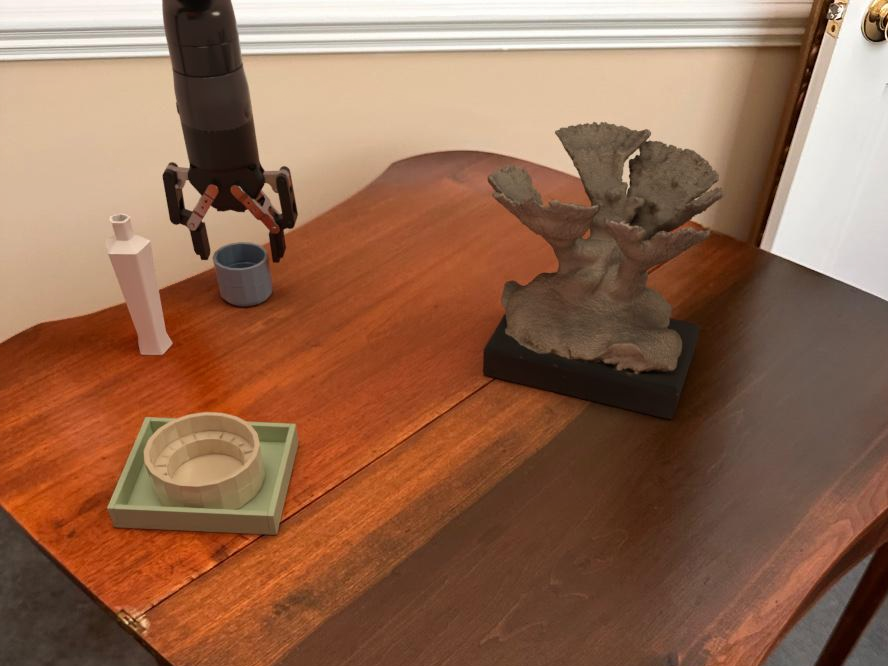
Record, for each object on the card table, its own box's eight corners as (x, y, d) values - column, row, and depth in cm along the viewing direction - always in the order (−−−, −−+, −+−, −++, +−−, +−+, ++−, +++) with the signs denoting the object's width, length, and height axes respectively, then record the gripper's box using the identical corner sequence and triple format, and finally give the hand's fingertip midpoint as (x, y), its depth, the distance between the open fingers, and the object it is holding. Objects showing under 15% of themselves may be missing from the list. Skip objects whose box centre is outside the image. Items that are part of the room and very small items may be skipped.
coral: (452, 368, 98) (458, 174, 82) (511, 280, 110) (527, 97, 94) (670, 424, 92) (723, 229, 76) (707, 326, 105) (760, 139, 88)
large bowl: (142, 518, 82) (130, 483, 78) (170, 445, 88) (160, 409, 85) (254, 524, 82) (247, 488, 78) (274, 450, 88) (268, 414, 85)
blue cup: (215, 307, 105) (207, 268, 101) (226, 279, 109) (219, 241, 105) (268, 309, 105) (262, 270, 101) (277, 281, 109) (271, 243, 105)
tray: (114, 527, 81) (106, 508, 79) (151, 436, 89) (145, 416, 87) (276, 535, 81) (273, 515, 79) (298, 442, 89) (295, 423, 87)
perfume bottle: (124, 349, 99) (85, 220, 87) (153, 331, 101) (119, 204, 90) (152, 363, 97) (116, 234, 86) (181, 345, 100) (150, 217, 88)
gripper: (289, 100, 93) (305, 244, 106) (157, 95, 93) (189, 240, 106) (277, 130, 88) (296, 277, 101) (138, 124, 89) (174, 272, 101)
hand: (241, 258), depth 103 cm, fingers open, 8 cm apart
